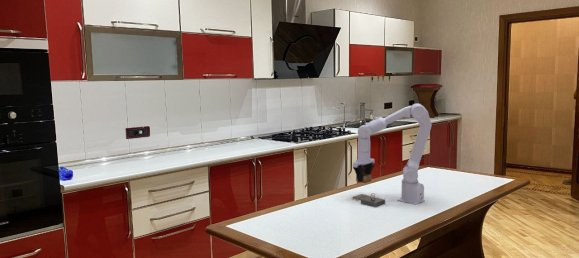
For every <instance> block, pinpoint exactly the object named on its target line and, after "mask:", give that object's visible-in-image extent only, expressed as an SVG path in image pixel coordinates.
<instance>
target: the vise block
mask: <svg viewBox="0 0 579 258" xmlns="http://www.w3.org/2000/svg"><path fill="white" fill-rule="evenodd" d="M360 204H361V205H364V206H369V207H374V208H378V207H380V206H383V205H385V204H386V199H384V198H381V197H376V193H373V192H372V193H371V192H370V195H369V197H366V198H363V199H361V200H360Z"/></svg>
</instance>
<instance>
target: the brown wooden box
mask: <svg viewBox="0 0 579 258" xmlns="http://www.w3.org/2000/svg"><path fill="white" fill-rule="evenodd" d="M355 182H356V183H357V182H358V183H361V184H368V183H371V182H372V174H371V175H369V174H363V181H362V182H360V181H358V179H357V175H356V174H355Z"/></svg>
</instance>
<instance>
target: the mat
mask: <svg viewBox="0 0 579 258" xmlns="http://www.w3.org/2000/svg"><path fill="white" fill-rule="evenodd" d="M369 196H370V195H369V194H368V195H367V194H364V193H360V194H357V195H354V196H352V199H355V200H360V201H361V199H363V198H366V197H369Z"/></svg>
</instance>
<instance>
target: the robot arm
mask: <svg viewBox="0 0 579 258" xmlns="http://www.w3.org/2000/svg"><path fill="white" fill-rule="evenodd" d="M411 117H413V119H415V120H416V122H417V123H418V125H419V128H418V131H417V135H416V137H415V140H414V143H413V145H412V149H411V152H410V156H409V158H408V161H407V163H406V165H405V166H404V167H403V168H402V175H403V178H402V179H401V194H400V195H401V197H400V198H398V199H397V201H398V202H403V203H408V204H412V205H418V204H420V203H423V202H425V186H424V184H423V183H420V182H419V180H418V178H419V173H418V171H419V166H420V162H421V160H422V156H423V153H424V151H425V147H426V143H427V142H428V138H429V135H430V132H431V130H432V125H433V124H432V121H431V118H430V115H429V111H428V110H427V108H425V106H424V105H422V104H421V103H413V104H412V105H408V106H406V107H403V108H401V109H399V110H396V111H394V112H393V113H391V114H390V115H387V116H386V117H381V116H379V117H377V116H376V117H374V119H373V120H371V121H369V122H365V124H364V125H362V124H361V125H360V126H359V127H358V129H357V140H358V141H357V159H355V161H354V162H352V168H353V170H354V172H355V176H356V175H357V179H358V181H360V182H359V183H361V182H362V181H363V174H369V175H371V176H372V172H373V170H374V168H375V158H371V135H375V134H377V133H379V132H381V131H383V130H385V129H387V126H388V125H389V124H392V123H393V122H396V121H398V120H401V119H402V118H411Z"/></svg>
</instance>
